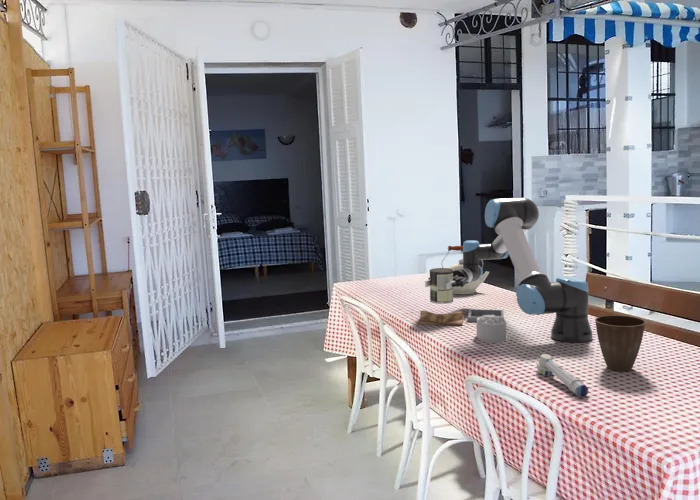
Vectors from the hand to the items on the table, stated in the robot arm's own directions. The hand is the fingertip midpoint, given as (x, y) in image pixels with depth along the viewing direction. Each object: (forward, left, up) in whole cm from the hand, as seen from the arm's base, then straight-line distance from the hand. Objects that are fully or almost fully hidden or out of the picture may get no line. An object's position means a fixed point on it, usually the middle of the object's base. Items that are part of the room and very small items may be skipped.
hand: (436, 285), depth 273 cm
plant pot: (-56, -65, -16) cm, 87 cm away
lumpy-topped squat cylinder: (-25, -24, -16) cm, 38 cm away
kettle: (+65, -9, -16) cm, 67 cm away
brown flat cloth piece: (+1, -2, -16) cm, 16 cm away
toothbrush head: (-73, -45, -16) cm, 88 cm away
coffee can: (+4, -2, -8) cm, 9 cm away
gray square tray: (+8, -21, -16) cm, 27 cm away
